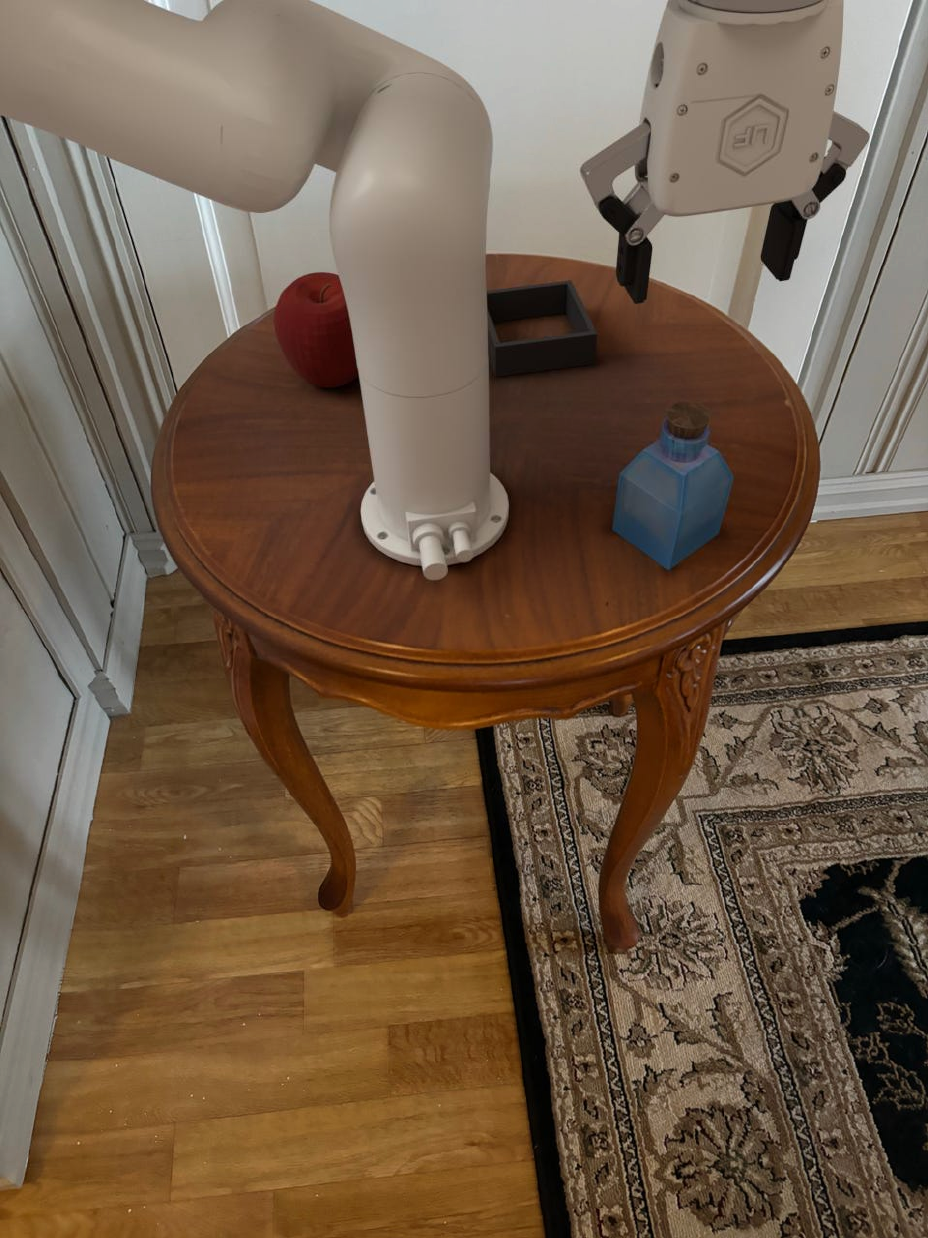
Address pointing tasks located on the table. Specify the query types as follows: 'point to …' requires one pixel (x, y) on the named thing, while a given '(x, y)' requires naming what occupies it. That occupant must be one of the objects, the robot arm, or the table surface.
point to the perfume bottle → (674, 489)
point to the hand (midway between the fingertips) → (704, 281)
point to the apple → (316, 330)
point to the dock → (547, 349)
